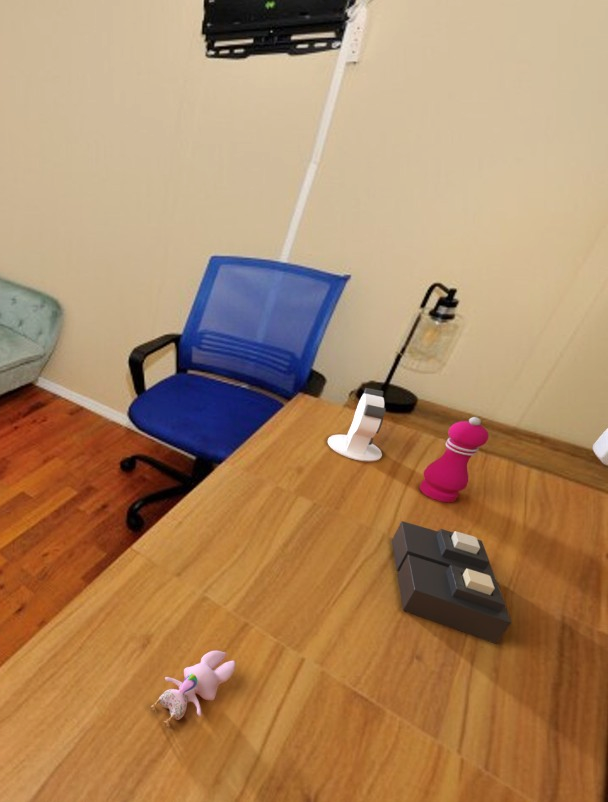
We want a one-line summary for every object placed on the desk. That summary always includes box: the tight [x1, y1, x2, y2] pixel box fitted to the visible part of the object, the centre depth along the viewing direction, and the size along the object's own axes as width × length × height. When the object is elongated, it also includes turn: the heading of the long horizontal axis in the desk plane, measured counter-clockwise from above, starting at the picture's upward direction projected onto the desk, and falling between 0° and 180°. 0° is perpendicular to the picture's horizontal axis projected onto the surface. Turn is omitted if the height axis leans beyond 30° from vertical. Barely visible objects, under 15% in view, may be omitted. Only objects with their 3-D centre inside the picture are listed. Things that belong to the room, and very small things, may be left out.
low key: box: [451, 530, 480, 554], centre depth 90 cm, size 3×3×2 cm
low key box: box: [391, 520, 496, 579], centre depth 93 cm, size 12×9×7 cm
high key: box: [462, 568, 495, 595], centre depth 83 cm, size 3×3×2 cm
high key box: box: [397, 555, 512, 645], centre depth 86 cm, size 12×9×7 cm
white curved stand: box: [327, 387, 387, 463], centre depth 125 cm, size 12×11×15 cm
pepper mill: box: [419, 416, 489, 503], centre depth 109 cm, size 7×7×20 cm
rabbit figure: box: [150, 650, 236, 728], centre depth 74 cm, size 6×6×15 cm
